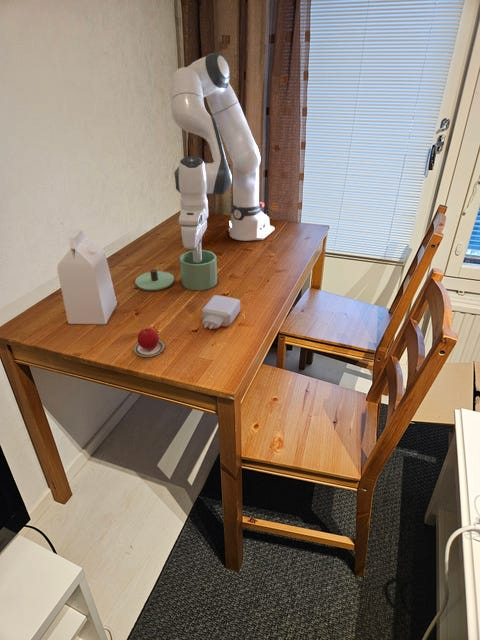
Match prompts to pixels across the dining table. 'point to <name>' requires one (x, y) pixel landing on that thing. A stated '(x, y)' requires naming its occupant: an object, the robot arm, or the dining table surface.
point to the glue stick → (198, 257)
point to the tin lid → (154, 280)
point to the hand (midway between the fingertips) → (196, 251)
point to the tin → (198, 271)
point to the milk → (86, 283)
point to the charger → (220, 311)
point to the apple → (148, 343)
